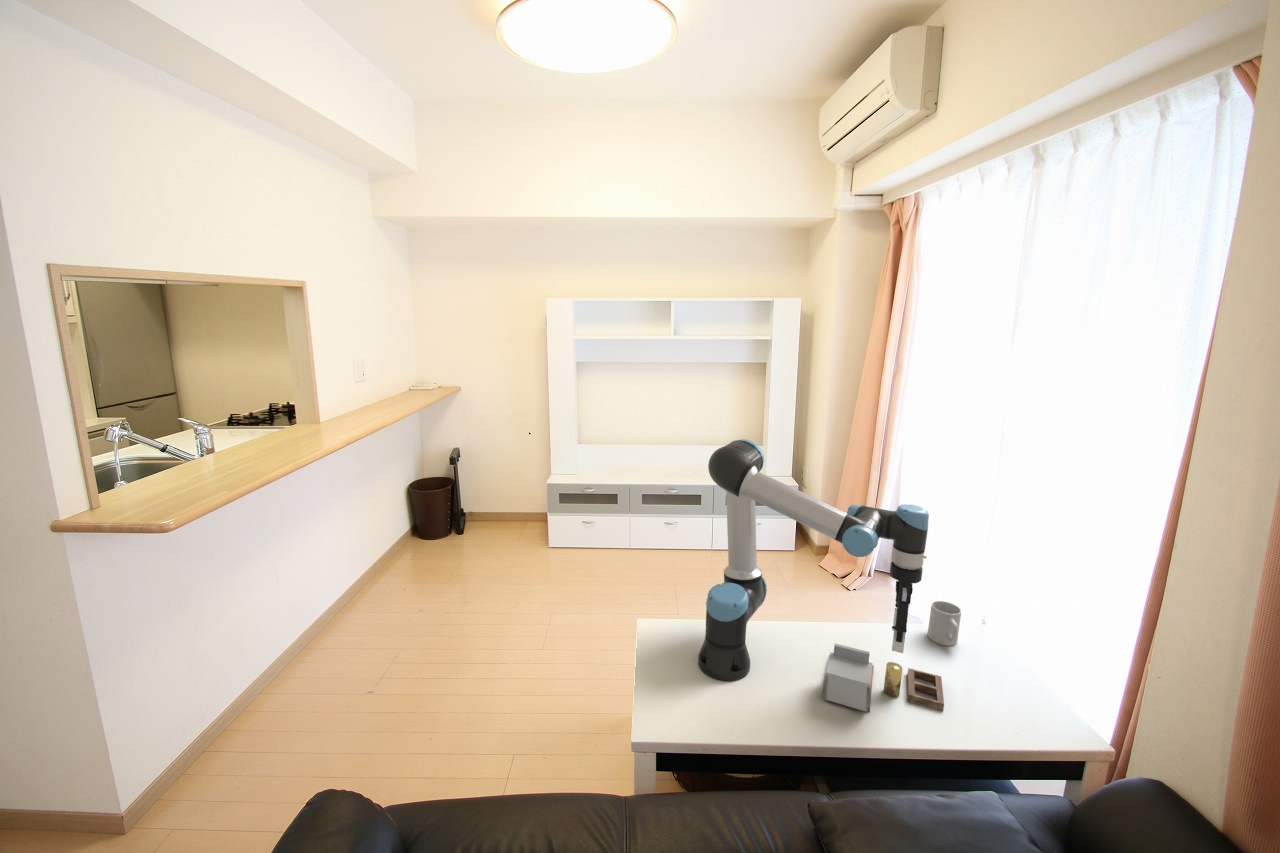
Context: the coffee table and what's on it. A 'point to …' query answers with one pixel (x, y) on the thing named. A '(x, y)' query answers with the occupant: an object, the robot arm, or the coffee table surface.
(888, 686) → the peg
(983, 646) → the coffee table surface
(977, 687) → the coffee table surface
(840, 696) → the cover
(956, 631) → the mug
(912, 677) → the socket block
